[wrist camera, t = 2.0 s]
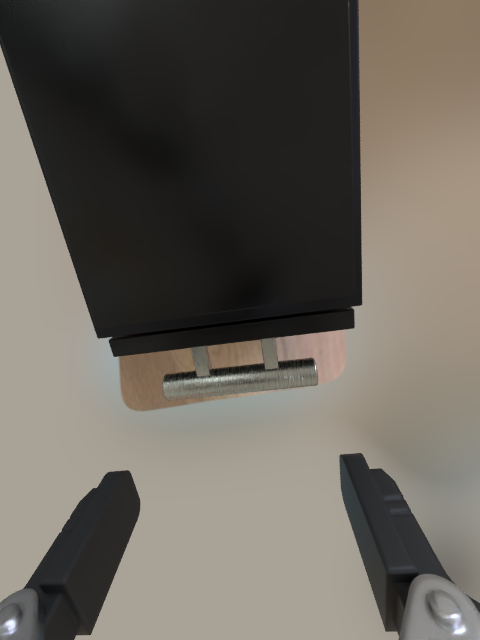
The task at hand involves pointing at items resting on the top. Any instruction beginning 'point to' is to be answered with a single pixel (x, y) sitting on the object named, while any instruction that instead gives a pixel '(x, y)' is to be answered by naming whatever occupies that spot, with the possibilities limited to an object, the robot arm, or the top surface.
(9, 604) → the robot arm
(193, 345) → the oven door
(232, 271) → the oven
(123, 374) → the top surface
